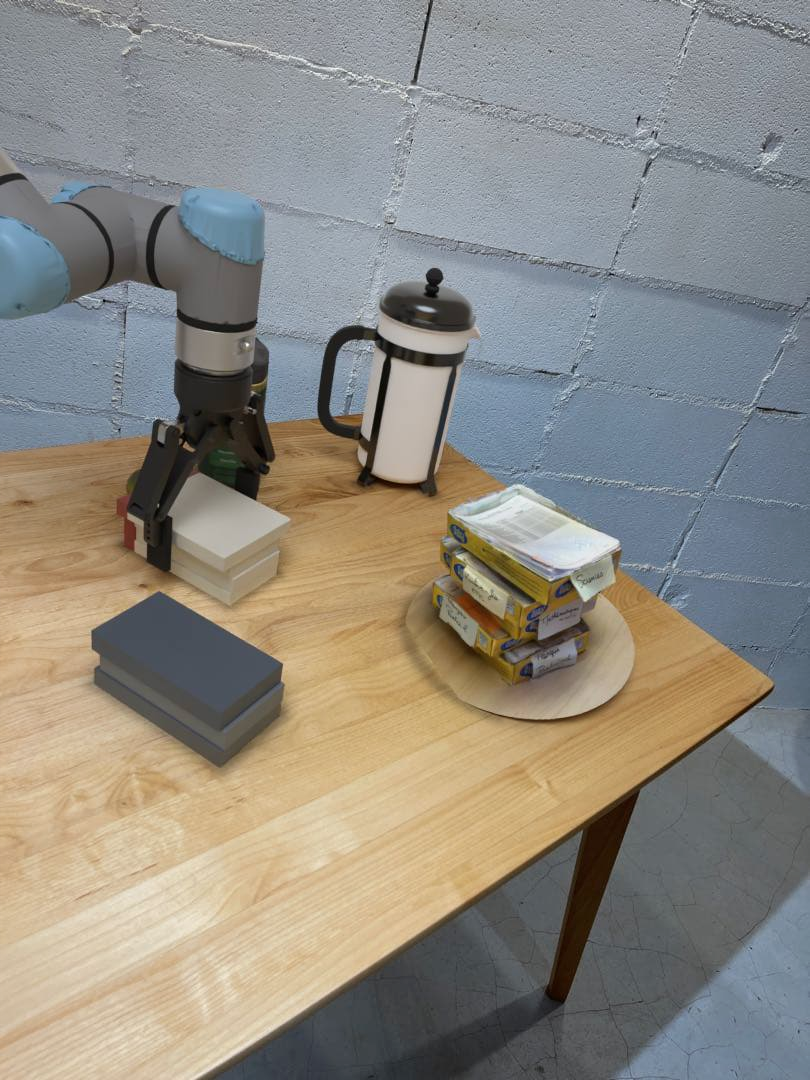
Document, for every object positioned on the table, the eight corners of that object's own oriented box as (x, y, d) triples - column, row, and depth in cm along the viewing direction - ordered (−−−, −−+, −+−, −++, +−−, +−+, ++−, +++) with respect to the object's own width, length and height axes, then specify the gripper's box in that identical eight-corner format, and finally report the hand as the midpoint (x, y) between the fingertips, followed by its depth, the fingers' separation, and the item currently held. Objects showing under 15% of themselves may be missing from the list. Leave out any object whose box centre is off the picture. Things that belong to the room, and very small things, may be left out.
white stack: (123, 547, 92) (123, 507, 89) (175, 521, 98) (177, 483, 96) (229, 608, 87) (232, 567, 84) (277, 576, 93) (282, 537, 90)
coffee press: (393, 440, 128) (430, 246, 113) (465, 487, 120) (517, 283, 104) (305, 461, 117) (333, 249, 101) (378, 515, 108) (421, 292, 93)
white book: (116, 513, 88) (116, 499, 87) (189, 480, 97) (190, 466, 96) (222, 573, 83) (224, 558, 82) (290, 532, 91) (292, 518, 90)
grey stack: (92, 686, 74) (90, 630, 70) (158, 643, 80) (160, 590, 77) (219, 771, 69) (224, 715, 65) (280, 718, 75) (287, 664, 71)
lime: (165, 496, 103) (166, 461, 100) (162, 517, 99) (163, 481, 96) (128, 494, 102) (128, 458, 99) (124, 514, 98) (123, 478, 95)
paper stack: (467, 746, 76) (512, 606, 67) (372, 588, 94) (397, 461, 86) (669, 704, 87) (730, 578, 78) (548, 569, 105) (586, 454, 96)
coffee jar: (254, 494, 107) (267, 360, 97) (192, 485, 106) (200, 350, 96) (261, 460, 115) (274, 333, 105) (204, 452, 114) (212, 323, 104)
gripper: (147, 407, 69) (143, 605, 80) (320, 348, 88) (297, 515, 99) (84, 377, 71) (89, 573, 83) (265, 326, 91) (250, 491, 102)
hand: (203, 541), depth 91 cm, fingers open, 13 cm apart
